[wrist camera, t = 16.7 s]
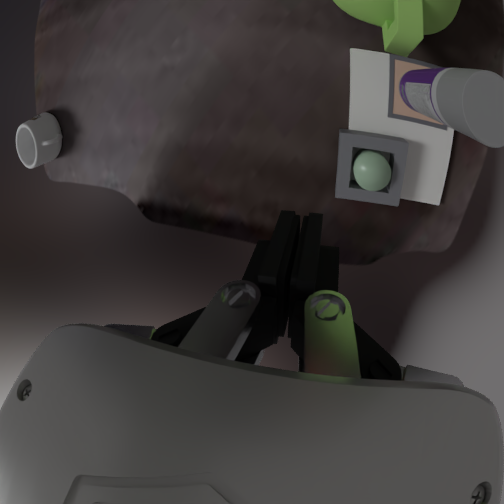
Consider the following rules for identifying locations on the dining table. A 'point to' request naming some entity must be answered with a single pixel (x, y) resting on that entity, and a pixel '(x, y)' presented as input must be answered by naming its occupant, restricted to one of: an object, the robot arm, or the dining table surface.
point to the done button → (371, 169)
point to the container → (459, 100)
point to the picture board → (391, 133)
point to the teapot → (403, 19)
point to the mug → (39, 140)
